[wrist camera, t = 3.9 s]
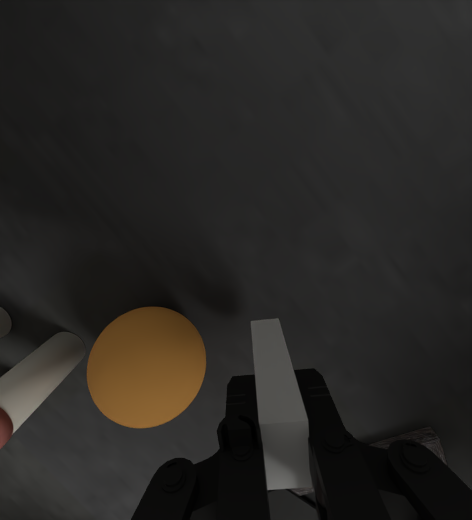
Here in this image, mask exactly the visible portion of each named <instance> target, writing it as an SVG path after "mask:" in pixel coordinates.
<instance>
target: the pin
mask: <svg viewBox="0 0 472 520" xmlns="http://www.w3.org/2000/svg"><path fill="white" fill-rule="evenodd" d="M11 326H12V322H11V318H10V316H9V314H8V313H7V312H6V311H5V310H4V309H3V308H2V307H0V338H2V337H3V336H5V335H6V334H8V333H9V331H10V330H11Z"/></svg>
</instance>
